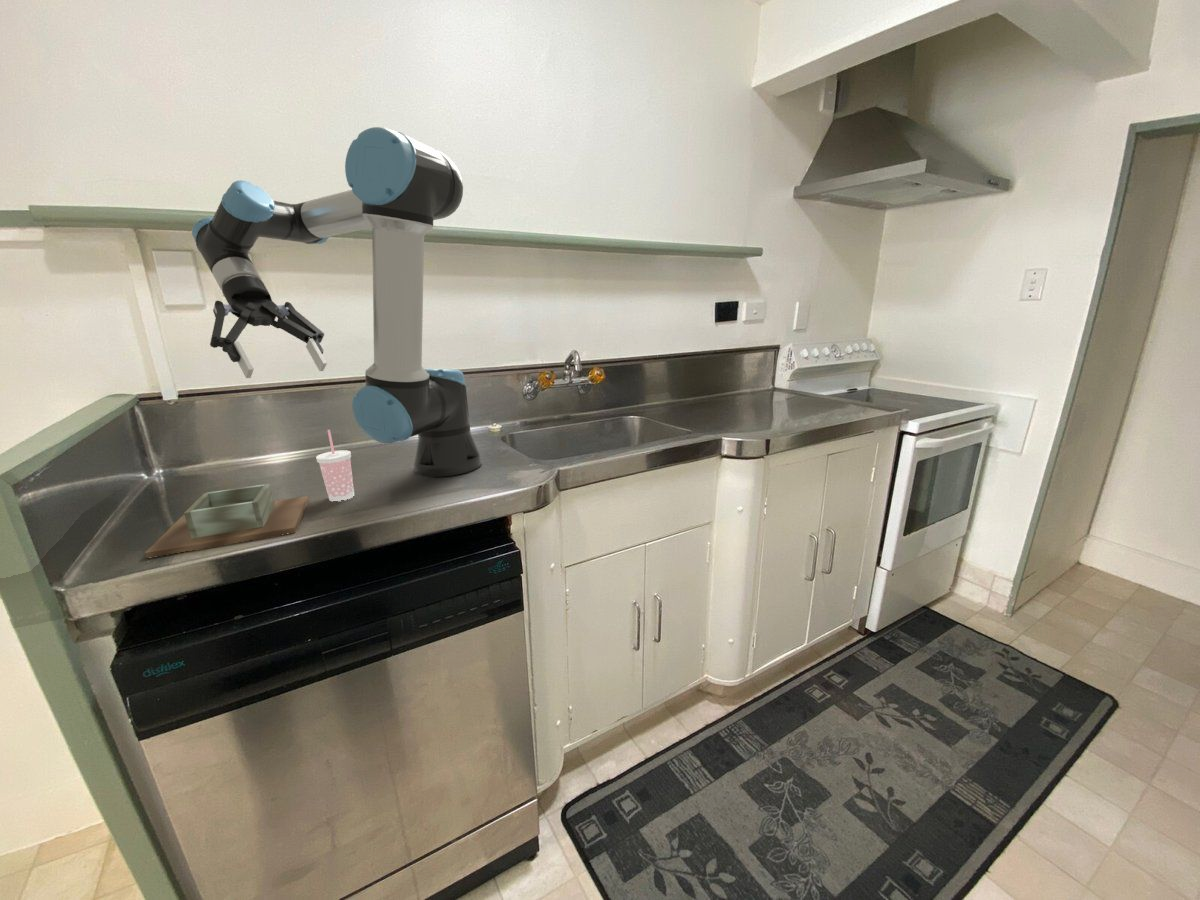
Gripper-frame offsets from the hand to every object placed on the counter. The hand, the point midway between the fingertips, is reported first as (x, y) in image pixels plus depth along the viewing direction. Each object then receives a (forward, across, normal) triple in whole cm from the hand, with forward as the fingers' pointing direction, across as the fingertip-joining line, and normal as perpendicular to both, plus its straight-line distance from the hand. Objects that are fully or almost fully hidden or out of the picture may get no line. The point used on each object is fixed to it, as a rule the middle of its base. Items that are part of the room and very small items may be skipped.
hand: (288, 370), depth 97 cm
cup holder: (+25, +16, -10) cm, 31 cm away
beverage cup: (+26, -1, -7) cm, 27 cm away
